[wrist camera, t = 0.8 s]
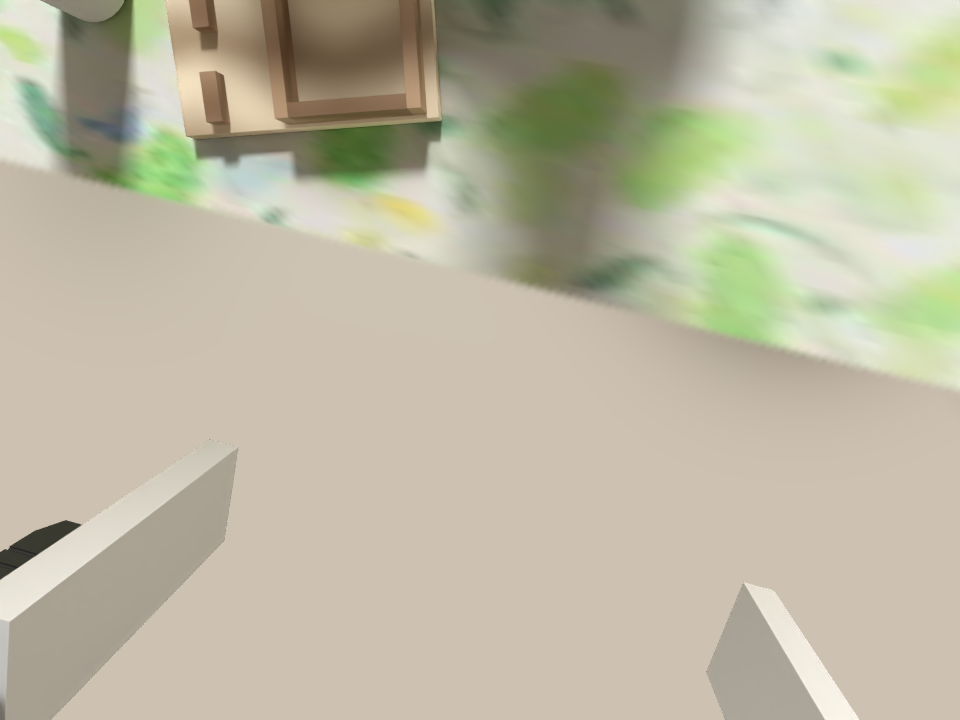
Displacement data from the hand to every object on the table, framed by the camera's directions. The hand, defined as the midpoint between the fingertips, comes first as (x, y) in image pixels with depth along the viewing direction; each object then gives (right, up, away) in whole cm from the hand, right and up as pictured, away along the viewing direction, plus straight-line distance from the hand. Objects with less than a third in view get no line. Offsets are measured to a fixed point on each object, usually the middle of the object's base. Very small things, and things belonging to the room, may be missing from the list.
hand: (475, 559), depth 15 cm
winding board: (-10, +24, +21) cm, 33 cm away
